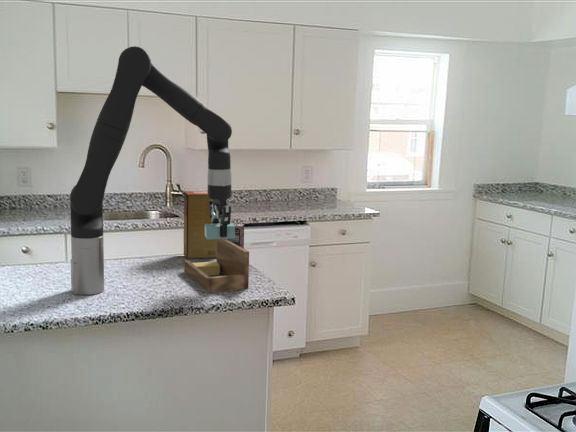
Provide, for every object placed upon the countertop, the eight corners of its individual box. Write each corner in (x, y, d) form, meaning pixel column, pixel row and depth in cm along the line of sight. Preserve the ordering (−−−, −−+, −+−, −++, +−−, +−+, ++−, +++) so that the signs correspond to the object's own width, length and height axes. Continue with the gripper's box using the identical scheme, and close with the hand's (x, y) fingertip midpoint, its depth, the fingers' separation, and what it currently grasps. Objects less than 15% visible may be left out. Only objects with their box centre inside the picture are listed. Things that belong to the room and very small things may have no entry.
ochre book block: (193, 276, 199) (193, 266, 199) (191, 272, 204) (191, 262, 204) (219, 275, 202) (219, 265, 201) (216, 271, 207) (217, 261, 206)
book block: (206, 239, 184) (206, 226, 183) (204, 235, 189) (204, 223, 188) (234, 238, 186) (234, 226, 185) (232, 234, 191) (232, 222, 190)
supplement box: (231, 265, 215) (232, 223, 212) (244, 266, 214) (245, 223, 212) (226, 271, 206) (226, 227, 204) (239, 272, 206) (240, 228, 203)
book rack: (208, 292, 181) (209, 254, 179) (184, 271, 204) (184, 238, 202) (248, 288, 187) (249, 251, 185) (220, 268, 210) (220, 235, 208)
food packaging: (215, 252, 235) (216, 190, 230) (220, 257, 226) (221, 193, 222) (182, 253, 230) (183, 190, 226) (186, 259, 222) (186, 194, 217)
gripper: (200, 181, 189) (201, 231, 192) (216, 186, 176) (216, 240, 179) (222, 180, 192) (222, 230, 195) (239, 185, 180) (239, 238, 183)
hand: (219, 234), depth 187 cm, fingers closed on book block, 6 cm apart
